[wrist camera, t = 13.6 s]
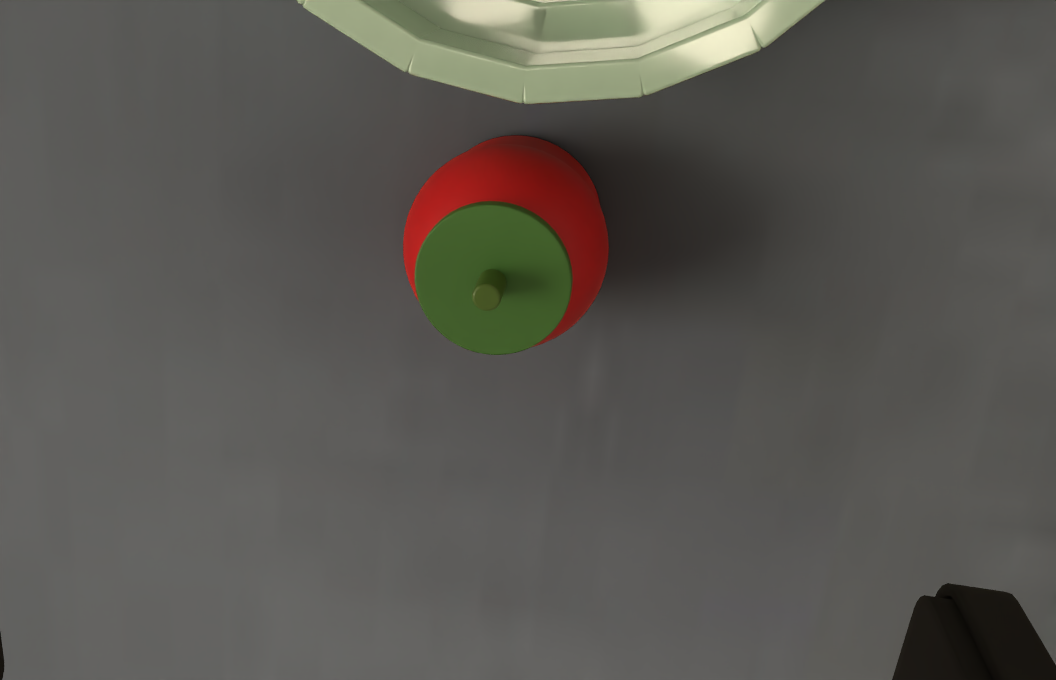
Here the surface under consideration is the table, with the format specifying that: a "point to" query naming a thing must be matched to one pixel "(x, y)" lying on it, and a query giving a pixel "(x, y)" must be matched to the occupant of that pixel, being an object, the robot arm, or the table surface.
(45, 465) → the table surface
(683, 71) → the bowl
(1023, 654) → the robot arm
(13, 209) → the table surface
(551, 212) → the strawberry
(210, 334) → the table surface
